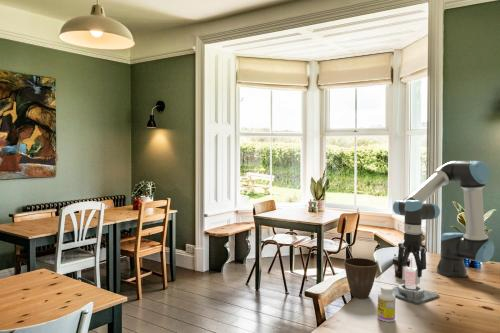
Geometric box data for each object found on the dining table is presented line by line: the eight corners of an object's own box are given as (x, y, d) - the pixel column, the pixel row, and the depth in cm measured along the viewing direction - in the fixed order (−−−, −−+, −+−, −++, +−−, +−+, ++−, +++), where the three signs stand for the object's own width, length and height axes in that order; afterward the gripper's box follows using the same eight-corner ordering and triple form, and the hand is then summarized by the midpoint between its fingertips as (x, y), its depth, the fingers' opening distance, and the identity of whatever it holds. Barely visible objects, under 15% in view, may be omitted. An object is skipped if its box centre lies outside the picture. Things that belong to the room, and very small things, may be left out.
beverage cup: (414, 285, 187) (415, 256, 187) (420, 289, 181) (421, 260, 181) (401, 285, 187) (402, 256, 187) (407, 289, 181) (408, 259, 180)
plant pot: (359, 304, 171) (360, 268, 171) (336, 293, 185) (337, 259, 184) (383, 298, 178) (384, 264, 178) (360, 288, 191) (361, 256, 191)
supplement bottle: (374, 315, 159) (375, 284, 158) (390, 315, 159) (391, 284, 159) (381, 322, 152) (382, 290, 152) (397, 322, 153) (398, 290, 152)
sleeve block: (404, 286, 197) (405, 279, 197) (439, 297, 182) (439, 289, 182) (382, 292, 186) (382, 285, 186) (417, 304, 172) (417, 297, 171)
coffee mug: (411, 280, 206) (412, 261, 206) (394, 278, 208) (395, 260, 208) (407, 273, 218) (407, 256, 218) (391, 272, 220) (391, 255, 219)
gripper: (390, 230, 189) (388, 277, 190) (427, 237, 173) (425, 288, 174) (399, 228, 193) (398, 275, 194) (436, 235, 178) (434, 285, 178)
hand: (411, 281), depth 184 cm, fingers closed on beverage cup, 6 cm apart
